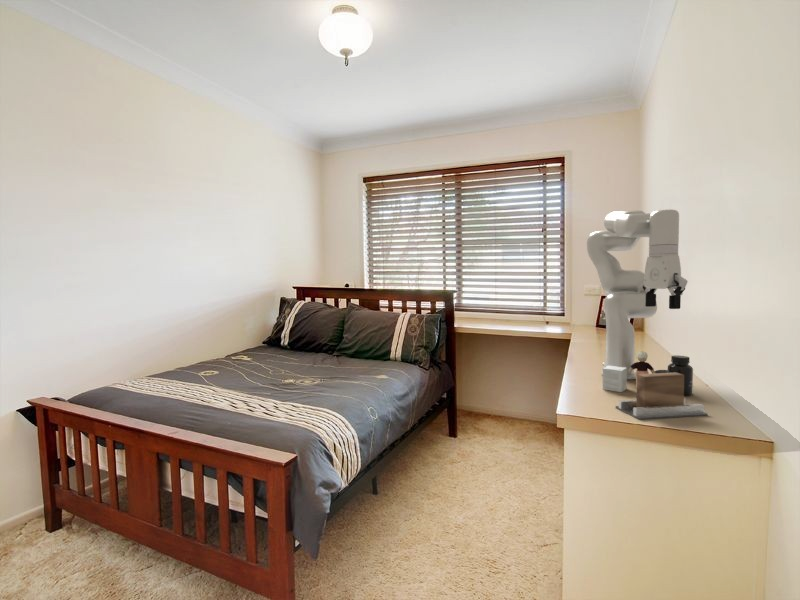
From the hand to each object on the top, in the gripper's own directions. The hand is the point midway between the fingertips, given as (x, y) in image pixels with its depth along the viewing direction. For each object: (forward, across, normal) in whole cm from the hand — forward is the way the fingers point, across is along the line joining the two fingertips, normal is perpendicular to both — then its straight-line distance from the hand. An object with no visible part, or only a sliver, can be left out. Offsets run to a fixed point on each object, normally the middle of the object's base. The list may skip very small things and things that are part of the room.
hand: (662, 307), depth 125 cm
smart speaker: (+29, -16, +16) cm, 37 cm away
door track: (+28, +11, -9) cm, 32 cm away
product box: (+29, -12, -7) cm, 32 cm away
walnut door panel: (+28, +11, -9) cm, 31 cm away
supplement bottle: (+28, -4, +10) cm, 30 cm away
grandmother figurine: (+28, -11, +2) cm, 31 cm away
